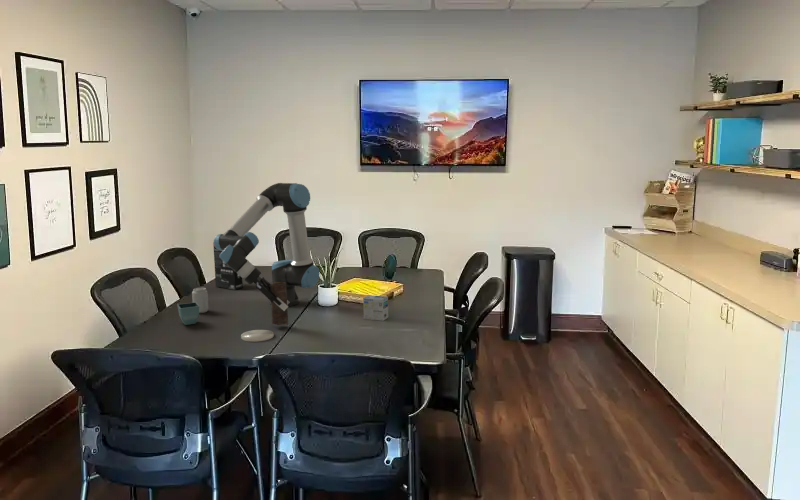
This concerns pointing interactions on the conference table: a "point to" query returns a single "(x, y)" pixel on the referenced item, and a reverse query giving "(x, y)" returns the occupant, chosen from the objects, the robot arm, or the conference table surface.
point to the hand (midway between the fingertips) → (286, 306)
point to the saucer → (257, 335)
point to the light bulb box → (375, 307)
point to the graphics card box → (225, 273)
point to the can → (201, 299)
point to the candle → (277, 313)
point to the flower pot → (188, 312)
